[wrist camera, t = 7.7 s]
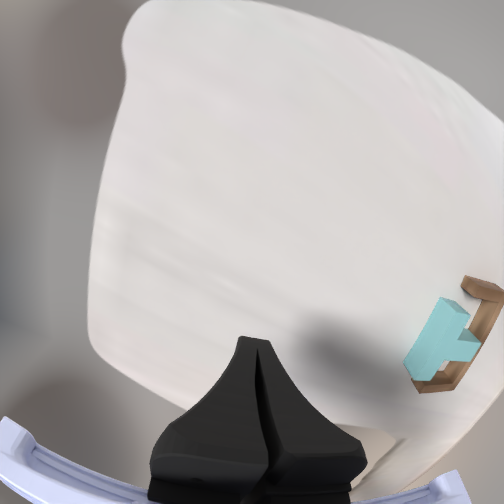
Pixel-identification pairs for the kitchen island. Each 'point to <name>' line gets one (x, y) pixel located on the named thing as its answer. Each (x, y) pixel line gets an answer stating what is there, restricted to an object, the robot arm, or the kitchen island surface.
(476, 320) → the wooden drawer handle
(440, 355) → the t block
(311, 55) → the kitchen island surface
